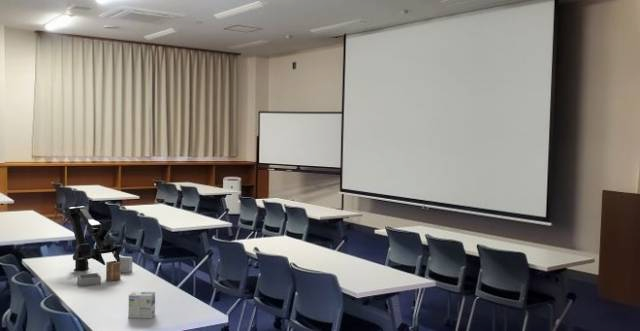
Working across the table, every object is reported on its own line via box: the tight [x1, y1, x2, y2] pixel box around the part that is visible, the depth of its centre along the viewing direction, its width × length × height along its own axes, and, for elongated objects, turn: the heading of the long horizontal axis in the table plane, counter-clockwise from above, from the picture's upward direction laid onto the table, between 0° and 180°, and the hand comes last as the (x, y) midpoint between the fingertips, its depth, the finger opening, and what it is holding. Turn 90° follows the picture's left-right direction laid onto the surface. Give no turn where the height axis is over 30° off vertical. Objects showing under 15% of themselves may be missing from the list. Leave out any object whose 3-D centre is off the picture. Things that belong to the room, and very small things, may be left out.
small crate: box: [105, 260, 121, 282], centre depth 322 cm, size 6×6×10 cm
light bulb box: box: [127, 291, 156, 319], centre depth 260 cm, size 11×7×11 cm, turn 92°
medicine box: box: [119, 255, 133, 273], centre depth 342 cm, size 8×4×9 cm, turn 84°
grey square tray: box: [77, 272, 102, 287], centre depth 313 cm, size 11×11×4 cm
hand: (112, 263), depth 322 cm, fingers open, 9 cm apart
